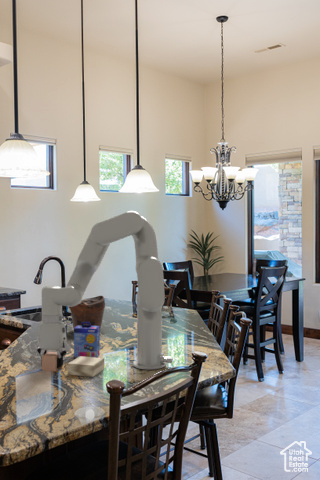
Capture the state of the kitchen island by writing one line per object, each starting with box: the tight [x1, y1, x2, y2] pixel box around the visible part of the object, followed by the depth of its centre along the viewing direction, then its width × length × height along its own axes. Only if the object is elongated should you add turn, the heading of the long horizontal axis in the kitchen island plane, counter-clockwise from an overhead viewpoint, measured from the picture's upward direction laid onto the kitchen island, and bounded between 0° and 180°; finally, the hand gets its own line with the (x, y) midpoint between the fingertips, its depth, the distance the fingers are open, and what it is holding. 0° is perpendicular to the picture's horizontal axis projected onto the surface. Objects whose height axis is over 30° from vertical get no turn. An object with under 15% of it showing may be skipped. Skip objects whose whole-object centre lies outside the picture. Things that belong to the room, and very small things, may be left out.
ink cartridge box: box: [73, 322, 101, 358], centre depth 199 cm, size 10×6×14 cm, turn 85°
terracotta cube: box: [41, 352, 63, 372], centre depth 181 cm, size 6×6×6 cm
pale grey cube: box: [47, 348, 66, 361], centre depth 192 cm, size 6×6×6 cm
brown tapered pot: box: [67, 295, 106, 332], centre depth 246 cm, size 18×20×18 cm
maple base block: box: [67, 356, 105, 377], centre depth 177 cm, size 10×10×4 cm
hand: (52, 366), depth 181 cm, fingers closed on terracotta cube, 5 cm apart
